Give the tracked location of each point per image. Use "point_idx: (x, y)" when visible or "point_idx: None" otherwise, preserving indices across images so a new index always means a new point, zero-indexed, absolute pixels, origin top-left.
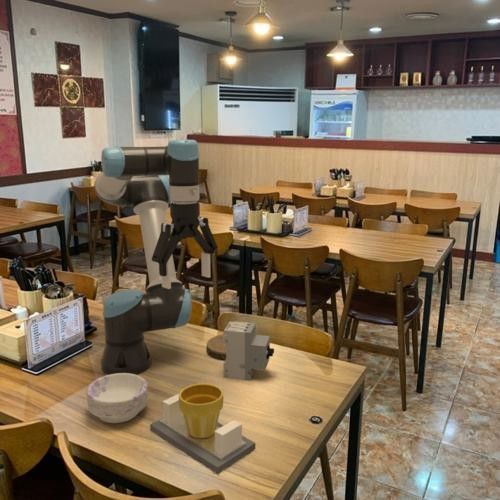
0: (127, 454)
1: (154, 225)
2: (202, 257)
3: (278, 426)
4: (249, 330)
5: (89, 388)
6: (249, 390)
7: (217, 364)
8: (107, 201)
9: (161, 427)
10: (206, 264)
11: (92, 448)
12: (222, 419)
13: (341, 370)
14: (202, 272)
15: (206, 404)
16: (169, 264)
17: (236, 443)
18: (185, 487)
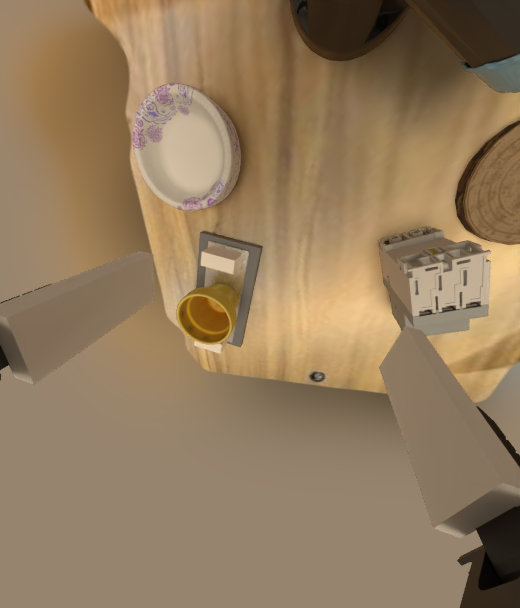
0: (160, 239)
1: None
2: (461, 439)
3: (287, 350)
4: (428, 321)
5: (142, 109)
6: (351, 294)
7: (432, 198)
8: None
9: (204, 249)
10: (409, 420)
11: (139, 194)
12: (268, 295)
13: (463, 383)
14: (410, 343)
15: (189, 336)
16: (35, 378)
17: None
18: (168, 314)
